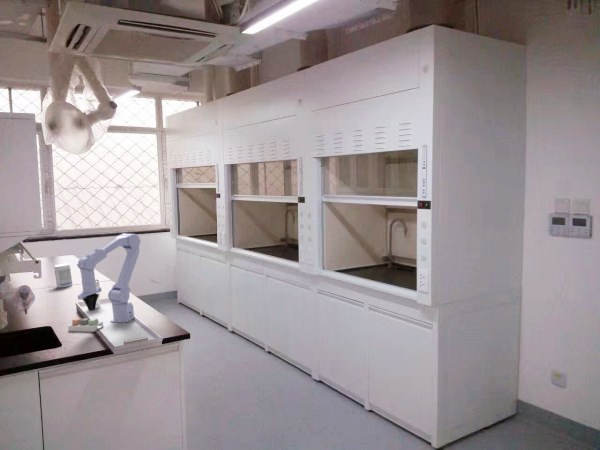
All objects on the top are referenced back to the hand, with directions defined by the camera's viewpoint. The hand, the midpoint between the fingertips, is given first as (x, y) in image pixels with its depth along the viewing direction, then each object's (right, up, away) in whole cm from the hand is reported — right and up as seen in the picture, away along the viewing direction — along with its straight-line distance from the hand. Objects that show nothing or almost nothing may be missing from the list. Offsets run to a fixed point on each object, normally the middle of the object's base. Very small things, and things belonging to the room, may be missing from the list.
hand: (91, 310), depth 227 cm
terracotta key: (-8, -7, +3) cm, 11 cm away
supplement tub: (-61, -1, +96) cm, 114 cm away
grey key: (-4, -7, +2) cm, 8 cm away
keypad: (-4, -9, +2) cm, 10 cm away
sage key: (0, -7, +1) cm, 7 cm away
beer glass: (-15, -6, +40) cm, 43 cm away
